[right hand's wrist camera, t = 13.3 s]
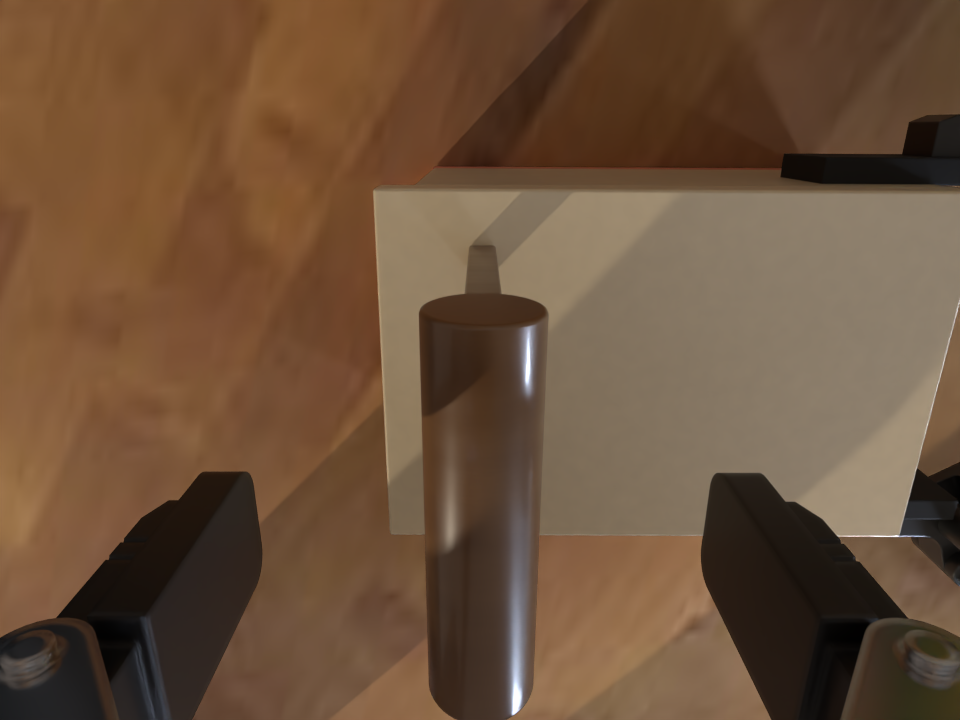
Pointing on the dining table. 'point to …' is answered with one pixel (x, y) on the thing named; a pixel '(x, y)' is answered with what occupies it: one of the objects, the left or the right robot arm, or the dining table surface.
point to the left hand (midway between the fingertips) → (772, 342)
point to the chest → (626, 177)
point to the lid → (641, 377)
